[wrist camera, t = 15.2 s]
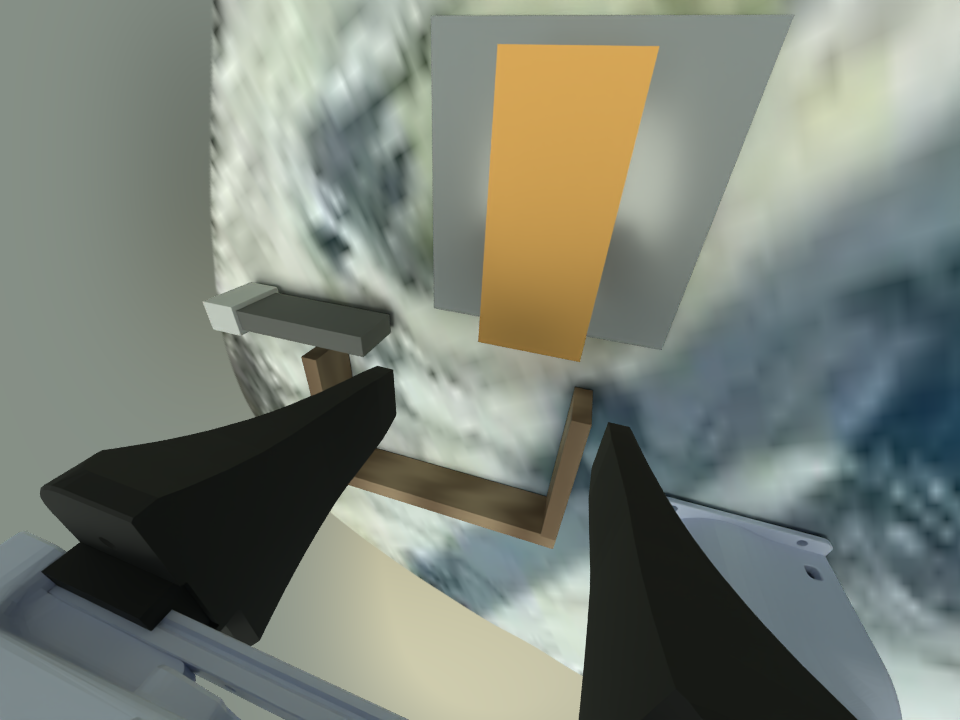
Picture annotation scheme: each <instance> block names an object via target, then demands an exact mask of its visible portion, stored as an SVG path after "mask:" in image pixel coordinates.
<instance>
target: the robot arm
mask: <svg viewBox="0 0 960 720" xmlns="http://www.w3.org/2000/svg"><path fill="white" fill-rule="evenodd" d="M395 417H396V402H395V388H394V374H393V370H392V369H388V368H384V367H380V366H376V367H374V368H371V369H369V370H366V371H364V372H362V373H360V374H358V375H356V376H354V377H351V378H349V379H347V380H345V381H343V382H341V383H339V384H337V385H334V386H332V387H330V388H328V389H326V390H324V391H322V392H319V393H317V394H315V395H312V396H310V397H308V398H305V399H303V400H300V401H298V402H296V403H293V404H291V405H288V406H286V407H283V408H281V409H278V410H275V411H272V412H270V413H267V414H264V415H261V416H258V417H255V418H252V419H249V420H245V421H242V422H238V423H234V424H231V425H228V426H224V427H220V428H216V429H213V430H209V431H205V432H200V433H196V434H192V435H188V436H183V437H178V438H173V439H168V440H163V441H158V442H152V443H146V444H140V445H134V446H128V447H121V448H115V449H108V450H102V451H100V452H98V453H96V454H94V455H93V456H92V457H90V458H88V459H86V460H85V461H83V462H82V463H80V464H78V465H77V466H75V467H73V468H72V469H70V470H68V471H67V472H65V473H64V474H62V475H60V476H58V477H57V478H55V479H53V480H52V481H50V482H49V483H47V484H45V485H44V486H43V487H41V490H40V496H41V499H42V500H43V502H44V504H45V505H46V506H47V507H48V508H49V510H51V512H52V513H53V514H54V515H55V516H56V517H57V518H58V519H59V520H60V521H61V522H62V523H63V525H64V526H65V527H66V528H67V529H68V530H69V531H70V532H71V533H72V534H73V535H74V536H75V537H76V538H77V539H78V540H79V541H80V543H78V544H77V545H76V546H74V547H73V548H72V549H70V550H69V551H68V552H66V551H65V550H63V549H62V548H60V547H59V546H57V545H55V544H53V543H51V542H49V541H47V540H45V539H42V538H40V537H38V536H36V535H34V534H31V533H29V532H27V531H22V532H19V533H17V534H16V535H14V536H13V537H11V538H10V539H8V540H6V541H5V542H3V543H2V544H1V545H0V720H241V719H239V718H238V717H237V716H236V715H235V714H234V713H233V712H232V711H231V710H230V709H229V708H228V707H227V706H226V705H225V703H224V702H223V700H222V699H221V698H220V697H218V696H216V695H215V694H213V693H211V692H210V691H208V690H207V689H205V688H204V687H202V686H200V685H198V684H197V683H195V681H196V679H195V674H196V675H198V676H200V677H202V678H204V679H206V680H208V681H210V682H212V683H214V684H216V685H218V686H220V687H221V688H224V689H226V690H227V691H230V692H231V693H233V694H235V695H237V696H239V697H241V698H243V699H245V700H247V701H249V702H251V703H253V704H255V705H257V706H259V707H261V708H263V709H265V710H267V711H269V712H271V713H273V714H275V715H277V716H279V717H281V718H283V719H285V720H408V719H406V718H404V717H402V716H400V715H397V714H395V713H393V712H391V711H389V710H387V709H385V708H382V707H380V706H378V705H376V704H374V703H372V702H370V701H367V700H365V699H363V698H361V697H358V696H357V695H354V694H352V693H350V692H348V691H346V690H344V689H341V688H340V687H337V686H335V685H333V684H331V683H329V682H327V681H324V680H322V679H320V678H318V677H316V676H314V675H311V674H309V673H307V672H305V671H303V670H301V669H299V668H296V667H294V666H292V665H290V664H288V663H286V662H283V661H281V660H279V659H277V658H275V657H273V656H271V655H268V654H266V653H264V652H262V651H260V650H258V649H256V648H253V647H251V646H252V645H254V644H255V643H257V642H258V641H259V640H260V639H261V637H262V635H263V633H264V631H265V628H266V626H267V624H268V622H269V620H270V619H271V616H272V615H273V612H274V611H275V609H276V607H277V605H278V602H279V601H280V599H281V597H282V595H283V593H284V591H285V589H286V587H287V585H288V583H289V582H290V580H291V578H292V576H293V574H294V572H295V570H296V569H297V567H298V565H299V563H300V561H301V560H302V557H303V556H304V554H305V552H306V550H307V549H308V547H309V546H310V544H311V542H312V540H313V539H314V537H315V535H316V534H317V532H318V530H319V528H320V527H321V525H322V523H323V522H324V520H325V519H326V517H327V515H328V514H329V512H330V511H331V509H332V507H333V506H334V504H335V502H336V501H337V500H338V498H339V497H340V495H341V494H342V492H343V491H344V490H345V488H346V487H347V486H348V484H349V483H350V482H351V480H352V479H353V478H354V477H355V475H356V474H357V473H358V471H359V470H360V469H361V467H362V466H363V465H364V463H365V462H366V461H367V460H368V458H369V457H370V456H371V454H372V453H373V452H374V450H375V449H376V448H377V446H378V445H379V444H380V442H381V441H382V439H383V438H384V436H385V435H386V433H387V431H388V429H389V428H390V426H391V424H392V422H393V420H394V418H395ZM672 505H673V506H672ZM589 540H590V595H589V609H588V623H587V635H586V647H585V659H584V670H583V681H582V691H581V702H580V712H579V720H902V715H901V710H900V705H899V701H898V698H897V694H896V691H895V688H894V685H893V683H892V680H891V678H890V676H889V674H888V672H887V669H886V667H885V665H884V664H883V662H882V660H881V658H880V656H879V654H878V653H877V651H876V649H875V647H874V645H873V643H872V641H871V640H870V638H869V636H868V634H867V632H866V630H865V629H864V627H863V625H862V623H861V621H860V619H859V618H858V616H857V614H856V612H855V610H854V608H853V606H852V605H851V603H850V601H849V599H848V597H847V595H846V594H845V592H844V590H843V588H842V586H841V584H840V583H839V581H838V579H837V577H836V575H835V573H834V571H833V570H832V568H831V566H830V564H829V562H828V560H827V559H826V557H825V556H826V555H827V554H828V553H830V552H831V551H832V549H833V547H832V545H831V543H830V541H829V540H827V539H825V538H822V537H818V536H814V535H810V534H807V533H803V532H799V531H795V530H792V529H788V528H784V527H780V526H776V525H773V524H769V523H765V522H761V521H758V520H754V519H750V518H746V517H743V516H739V515H735V514H731V513H727V512H724V511H720V510H716V509H712V508H709V507H705V506H701V505H697V504H693V503H690V502H686V501H682V500H678V499H675V498H671V497H667V496H666V495H665V493H664V492H663V490H662V488H661V486H660V485H659V483H658V481H657V479H656V477H655V476H654V474H653V472H652V470H651V468H650V467H649V465H648V463H647V461H646V459H645V457H644V455H643V453H642V451H641V449H640V447H639V445H638V443H637V441H636V439H635V437H634V434H633V432H632V430H631V429H630V427H627V426H622V425H618V424H614V423H610V422H608V424H607V427H606V430H605V433H604V435H603V438H602V441H601V444H600V447H599V449H598V452H597V455H596V458H595V460H594V463H593V466H592V470H591V480H590V490H589Z"/></svg>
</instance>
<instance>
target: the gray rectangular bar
mask: <svg viewBox="0 0 960 720" xmlns="http://www.w3.org/2000/svg"><path fill="white" fill-rule="evenodd" d="M203 304H204V306H205V309H206V311H207V314H208V316H209V319H210V322H211V324H212V327H213V329H214V330H218V331H223V332H227V333H231V334H236V335H240V336H241V335H243V334H245V333H247V332H249V331H250V332H255V333H259V334H263V335H268V336H272V337H277V338H281V339H286V340H290V341H295V342H299V343H303V344H308V345H312V346H317V347H321V348H326V349H330V350H334V351H339V352H343V353H348V354H352V355H357V356H361V357H364V356H365V355H366V354H367V353H368V352H370V351H371V350H372V349H373V348H374V347H375V346H376V345H377V344H379V343H380V342H381V341H382V340H383V339H384V338H385V337H386V336H388V335H389V334H390V333H391V329H390V318H389V315H388V314H383V313H378V312H373V311H368V310H363V309H358V308H352V307H347V306H342V305H337V304H332V303H327V302H321V301H316V300H311V299H306V298H301V297H296V296H290V295H285V294H280V293H278V289H277V287H274V286H268V285H263V284H258V283H253V282H251V283H248V284H246V285H243V286H240V287H238V288H235V289H233V290H230V291H228V292H225V293H223V294H220V295H218V296H215V297H213V298H210V299H207V300H205V301H203Z"/></svg>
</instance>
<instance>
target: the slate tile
mask: <svg viewBox="0 0 960 720" xmlns="http://www.w3.org/2000/svg"><path fill="white" fill-rule="evenodd" d="M793 17H794V15H478V16H431V69H432V163H433V256H434V308H436V309H442V310H447V311H452V312H458V313H463V314H469V315H474V316H480V307H481V292H482V276H483V261H484V245H485V230H486V214H487V199H488V183H489V168H490V153H491V137H492V122H493V106H494V91H495V75H496V60H497V44H532V45H611V46H659V50H658V54H657V58H656V62H655V66H654V70H653V74H652V78H651V82H650V86H649V90H648V94H647V98H646V102H645V106H644V110H643V114H642V118H641V122H640V126H639V129H638V133H637V137H636V141H635V145H634V149H633V153H632V157H631V161H630V165H629V169H628V173H627V177H626V181H625V185H624V189H623V193H622V197H621V201H620V205H619V209H618V213H617V217H616V221H615V224H614V228H613V232H612V236H611V240H610V244H609V248H608V252H607V256H606V260H605V264H604V268H603V272H602V276H601V280H600V284H599V288H598V292H597V296H596V300H595V304H594V308H593V312H592V315H591V319H590V323H589V327H588V331H587V335H586V336H588V337H594V338H599V339H604V340H610V341H615V342H621V343H626V344H632V345H637V346H642V347H648V348H653V349H659V350H662V347H663V345H664V342H665V340H666V337H667V335H668V332H669V330H670V327H671V325H672V322H673V320H674V317H675V315H676V312H677V310H678V307H679V305H680V302H681V300H682V297H683V294H684V292H685V289H686V287H687V284H688V282H689V279H690V277H691V274H692V272H693V269H694V267H695V264H696V262H697V259H698V257H699V254H700V252H701V249H702V247H703V244H704V241H705V239H706V236H707V234H708V231H709V229H710V226H711V224H712V221H713V219H714V216H715V214H716V211H717V209H718V206H719V204H720V201H721V199H722V196H723V193H724V191H725V188H726V186H727V183H728V181H729V178H730V176H731V173H732V171H733V168H734V166H735V163H736V161H737V158H738V156H739V153H740V151H741V148H742V146H743V143H744V140H745V138H746V135H747V133H748V130H749V128H750V125H751V123H752V120H753V118H754V115H755V113H756V110H757V108H758V105H759V103H760V100H761V98H762V95H763V93H764V90H765V87H766V85H767V82H768V80H769V77H770V75H771V72H772V70H773V67H774V65H775V62H776V60H777V57H778V55H779V52H780V50H781V47H782V45H783V42H784V39H785V37H786V34H787V32H788V29H789V27H790V24H791V22H792V19H793Z"/></svg>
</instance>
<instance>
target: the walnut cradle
mask: <svg viewBox="0 0 960 720" xmlns="http://www.w3.org/2000/svg"><path fill="white" fill-rule="evenodd" d="M301 358H302V362H303V366H304V370H305V374H306V377H307V381H308V385H309V389H310V393H311V396H312V395H315V394H317V393H319V392H322V391H324V390H326V389H328V388H330V387H332V386H334V385H337V384H339V383H341V382H343V381H345V380H347V379H349V378H351V377H352V372H351V366H350V360H349V354H348V353H343V352H339V351H334V350H330V349H326V348H321V347H317V346H316V347H315V348H313V349H312V350H310V351H309V352H308V353H306V354H305V355H303V356H302V357H301ZM592 400H593V391H592V390H587V389H582V388H578V387H575V389H574V393H573V397H572V400H571V404H570V408H569V412H568V416H567V420H566V424H565V428H564V431H563V435H562V439H561V443H560V447H559V451H558V455H557V459H556V462H555V466H554V470H553V474H552V478H551V482H550V486H549V490H548V493H547V497H546V496H542V495H539V494H535V493H532V492H528V491H525V490H521V489H518V488H514V487H511V486H507V485H503V484H500V483H496V482H493V481H489V480H486V479H482V478H479V477H475V476H472V475H468V474H465V473H461V472H458V471H454V470H451V469H447V468H444V467H440V466H437V465H433V464H430V463H426V462H423V461H419V460H415V459H412V458H408V457H405V456H401V455H398V454H394V453H391V452H387V451H384V450H380V449H377V448H376V449H375V450H374V452H373V453H372V454H371V456H370V457H369V458H368V460H367V461H366V462H365V463H364V465H363V466H362V467H361V469H360V470H359V471H358V473H357V474H356V475H355V477H354V478H353V479H352V480H351V482H350V483H349V484H348V485H351V486H354V487H357V488H360V489H363V490H366V491H370V492H373V493H376V494H379V495H382V496H386V497H389V498H392V499H395V500H398V501H402V502H405V503H408V504H411V505H414V506H417V507H421V508H424V509H427V510H430V511H433V512H437V513H440V514H443V515H446V516H449V517H452V518H456V519H459V520H462V521H465V522H468V523H472V524H475V525H478V526H481V527H484V528H488V529H491V530H494V531H497V532H500V533H503V534H507V535H510V536H513V537H516V538H519V539H523V540H526V541H529V542H532V543H535V544H538V545H542V546H545V547H548V548H551V549H553V547H554V544H555V541H556V537H557V534H558V531H559V528H560V525H561V521H562V518H563V515H564V512H565V509H566V505H567V502H568V499H569V496H570V493H571V489H572V486H573V483H574V480H575V477H576V473H577V470H578V467H579V464H580V461H581V457H582V454H583V451H584V448H585V445H586V441H587V438H588V435H589V432H590V429H591V426H592Z"/></svg>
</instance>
